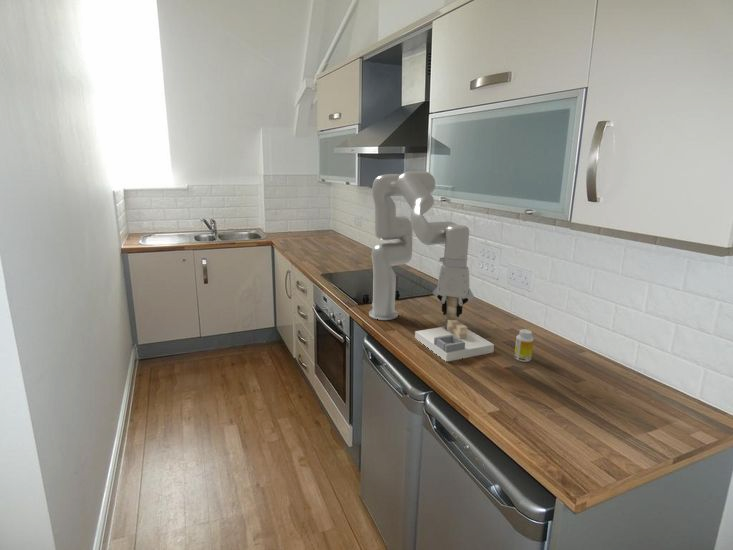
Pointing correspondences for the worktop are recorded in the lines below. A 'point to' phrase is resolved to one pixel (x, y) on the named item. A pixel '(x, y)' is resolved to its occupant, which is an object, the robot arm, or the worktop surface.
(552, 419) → the worktop surface
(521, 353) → the supplement bottle
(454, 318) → the loose leg
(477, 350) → the white board with frame
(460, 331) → the beige angular block
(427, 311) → the worktop surface
